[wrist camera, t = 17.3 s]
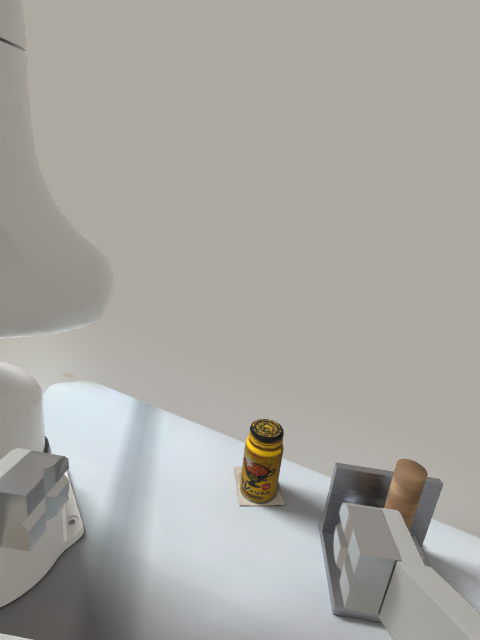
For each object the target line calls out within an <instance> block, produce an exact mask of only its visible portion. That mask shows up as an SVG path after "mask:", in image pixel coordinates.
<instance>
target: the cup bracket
mask: <svg viewBox="0 0 480 640" xmlns="http://www.w3.org/2000/svg"><path fill="white" fill-rule="evenodd" d="M393 475H394V472H391V471H385V470H379V469H372V468H366V467H360V466H353V465H347V464H341V463H335V467H334V471H333V475H332V480H331V484H330V488H329V492H328V497H327V501H326V505H325V510H324V514H323V518H322V519H320V521H319V531H320V537H321V543H322V549H323V555H324V561H325V568H326V574H327V580H328V586H329V592H330V598H331V604H332V611H333V614H335V615H340V616H346V617H351V618H357V619H362V620H368V621H374V622H379V623H382V622H381V621H380V619H379V616H377V615H373V614H368V613H363V612H359V611H354V610H349V609H345V607H344V602H343V597H342V593H341V588H340V583H339V580H340V576H341V572H342V571H341V570H340V569H339V568H338V566H337V565H336V562H335V556H334V533H335V529H336V525H338V524H339V523H340V522H341V519H340V514H339V512H340V508H341V505H342V504H343V502H345V503H351V504H358V505H364V506H370V507H377V508H384V507H385V503H386V500H387V496H388V493H389V489H390V486H391V482H392V478H393ZM442 487H443V483H442V482H441V480H440V479H436V478H430V477H427V478H426V482H425V485H424V488H423V491H422V494H421V497H420V500H419V503H418V507H417V510H416V513H415V516H414V519H413V522H412V525H411V528H410V532H409V533H410V535H411V537H412V539H413V541H414V543H415V546H416V548H417V550H418V552H419V554H420V556H421V558H422V561H423V563H424V565H425V566H429V567H431V566H430V564H429V562H428V560H427V558H426V556H425V553H424V551H423V549H422V544H423V541H424V539H425V536H426V533H427V530H428V527H429V524H430V521H431V518H432V516H433V513H434V510H435V507H436V504H437V501H438V498H439V495H440V492H441V490H442Z"/></svg>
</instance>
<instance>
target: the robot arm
mask: <svg viewBox="0 0 480 640" xmlns="http://www.w3.org/2000/svg"><path fill="white" fill-rule="evenodd" d="M25 40H26V39H25V25H24V14H23V6H22V0H0V338H10V337H25V336H41V335H52V334H56V333H61V332H65V331H69V330H74V329H77V328H81V327H85V326H89V325H93V324H95V323H96V322H97V321H98V320H100V318H101V317H102V316H103V315H104V313H105V312H106V310H107V308H108V306H109V304H110V302H111V299H112V295H113V288H114V282H113V274H112V270H111V267H110V264H109V262H108V260H107V258H106V256H105V255H104V253H103V252H102V250H101V249H100V248H99V247H98V246H97V245H96V244H95V243H94V242H93V241H92V240H91V239H89V238H88V237H87V236H85V235H83V233H81V232H80V231H79V230H78V229H77V228H76V227H75V226H74V225H73V224H72V223H71V222H70V221H69V220H68V219H67V218H66V216H65V215H64V214H63V213H62V212H61V210H60V209H59V207H58V206H57V205H56V203H55V201H54V200H53V198H52V196H51V194H50V193H49V191H48V188H47V186H46V184H45V182H44V179H43V177H42V174H41V171H40V168H39V165H38V161H37V157H36V152H35V147H34V141H33V133H32V125H31V116H30V106H29V93H28V78H27V59H26V53H25V52H24V51H26V41H25ZM68 469H69V463H68V458H66V457H65V456H59V455H54V454H52V453H51V449H50V445H49V442H48V439H47V438H46V436H45V433H44V414H43V394H42V390H41V387H40V386H39V384H38V382H37V381H36V380H35V379H34V378H33V377H32V376H31V375H30V374H29V373H27V372H25V371H24V370H22V369H21V368H18V367H16V366H14V365H11V364H8V363H4V362H1V361H0V607H3V606H4V605H6V604H8V603H10V602H12V601H13V600H15V599H17V598H18V597H20V596H21V595H23V594H24V593H25V592H27V591H28V590H29V589H31V588H32V587H33V586H34V585H35V584H36V583H37V582H39V581H40V580H41V579H42V578H43V577H44V576H45V574H46V573H47V572H48V571H49V570H50V568H51V567H52V566H53V564H54V563H55V562H56V560H57V559H58V557H59V556H60V555H61V554H62V553H63V551H64V550H66V549H67V548H68V547H70V546H71V545H72V544H74V543H75V542H76V541H77V540H78V539H79V538H80V537H81V536H82V535H83V532H84V527H83V523H82V519H81V516H80V513H79V509H78V506H77V503H76V499H75V496H74V493H73V489H72V486H71V483H70V479H69V476H68V473H67V470H68ZM339 514H340V519H341V522H340V523H339V524H338V525H336V529H335V533H334V556H335V562H336V565H337V566H338V568H339V569H340V570H341V571H342V572H341V576H340V580H339V583H340V588H341V593H342V597H343V602H344V607H345V609H349V610H354V611H359V612H363V613H368V614H373V615H377V616H379V619H380V621H381V622H382V624H383V625H384V626H385V628H386V629H387V631H388V632H389V634H390V635H391V637H392V638H393V640H480V613H479V612H478V611H477V610H476V609H475V608H474V607H473V606H472V605H471V604H470V603H469V602H467V601H466V600H465V599H464V598H463V597H462V596H461V595H460V594H459V593H458V592H457V591H456V590H455V589H454V588H453V587H452V586H451V585H449V584H448V583H447V582H446V581H445V580H444V579H443V578H442V577H441V576H440V575H439V574H438V573H437V572H436V571H435V570H434V569H432V568H431V567H429V566H425V565H424V563H423V561H422V558H421V556H420V554H419V552H418V550H417V548H416V546H415V543H414V541H413V539H412V537H411V535H410V533H409V531H408V528H407V526H406V524H405V522H404V520H403V518H402V515H401V513H400V512H399V511H398V510H392V509H385V508H377V507H370V506H364V505H358V504H351V503H345V502H343V504H342V505H341V508H340V512H339ZM70 524H72V525H70ZM0 640H32V639H27V638H22V637H17V636H12V635H6V634H1V633H0Z"/></svg>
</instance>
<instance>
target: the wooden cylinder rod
mask: <svg viewBox="0 0 480 640" xmlns="http://www.w3.org/2000/svg"><path fill="white" fill-rule="evenodd" d="M426 478H427V471H426V470H425V468H424V467H422V466H421V465H420V464H418V463H417V462H415V461H412V460H408V459H400V460H398V462H397V464H396V468H395V471H394V475H393V478H392V482H391V486H390V489H389V493H388V496H387V500H386V503H385V507H384V508H385V509H392V510H398V511H399V512H400V513H401V515H402V518H403V520H404V522H405V524H406V526H407V528H408V531H409V532H410V528H411V525H412V522H413V519H414V516H415V513H416V510H417V507H418V503H419V500H420V497H421V494H422V491H423V488H424V485H425V482H426Z"/></svg>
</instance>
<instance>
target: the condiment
mask: <svg viewBox="0 0 480 640" xmlns="http://www.w3.org/2000/svg"><path fill="white" fill-rule="evenodd" d="M282 442H283V429H282V427H281V425H280V424H278V423H276V422H274V421H272V420H267V419H261V420H257V421H254V422H253V423H252V425H251V427H250V433H249V437H248V438H247V440H246V444H245V452H244V458H243V466H242V467H234V471H235V478H236V486H237V493H238V501H239V505H247V506H249V505H251V506H272V505H285V504H284V501H283V498H282V494H281V491H280V488H279V484H278V478H279V472H280V466H281V460H282V454H283V443H282Z"/></svg>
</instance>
